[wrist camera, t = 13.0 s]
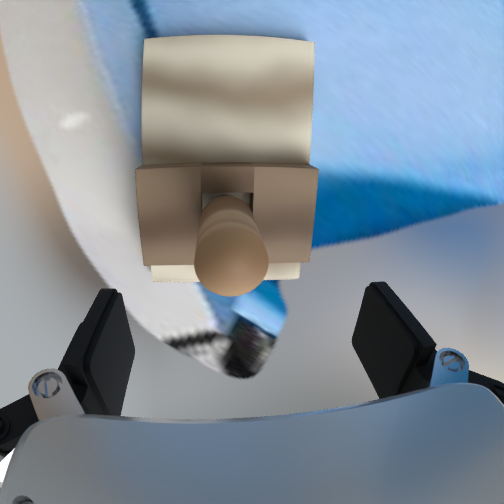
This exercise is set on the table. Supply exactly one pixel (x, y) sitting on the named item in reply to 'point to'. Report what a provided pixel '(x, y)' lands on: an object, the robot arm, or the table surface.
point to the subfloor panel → (226, 146)
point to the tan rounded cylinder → (229, 248)
